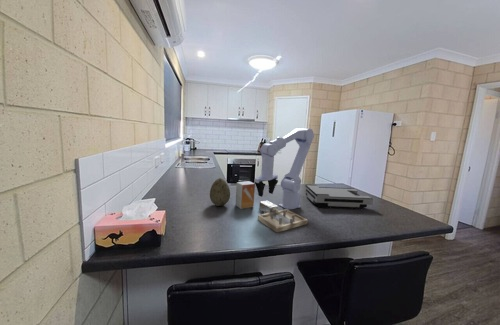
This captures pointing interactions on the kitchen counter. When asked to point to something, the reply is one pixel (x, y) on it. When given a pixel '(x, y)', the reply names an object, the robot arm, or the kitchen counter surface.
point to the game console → (336, 197)
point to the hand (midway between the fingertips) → (265, 194)
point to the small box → (245, 194)
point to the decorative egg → (219, 192)
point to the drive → (267, 206)
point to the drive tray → (282, 220)
